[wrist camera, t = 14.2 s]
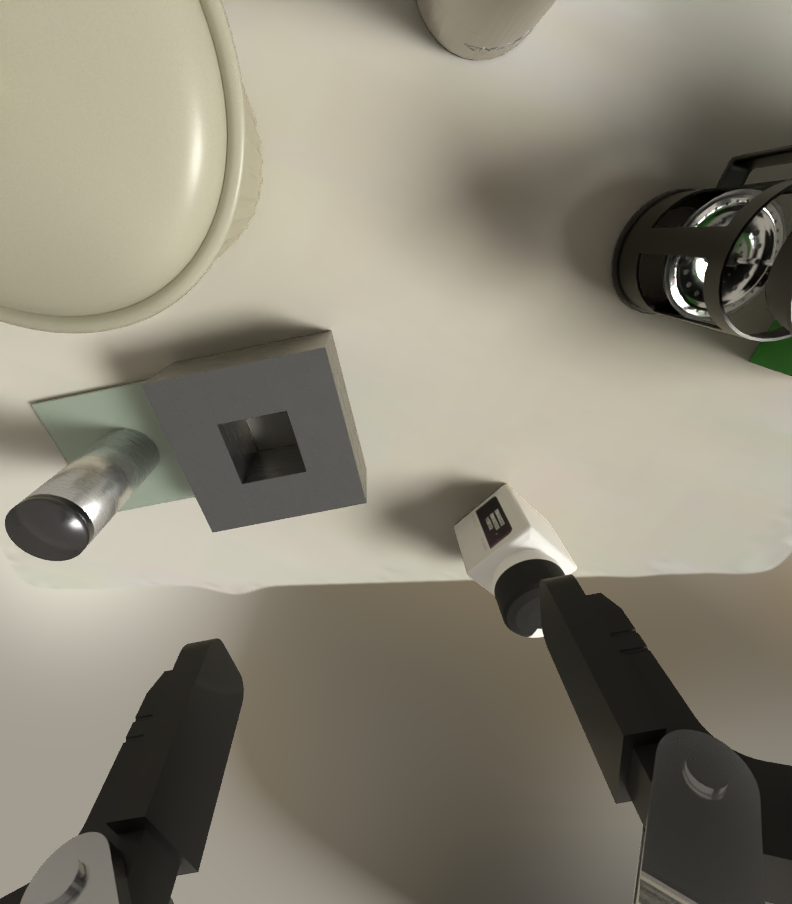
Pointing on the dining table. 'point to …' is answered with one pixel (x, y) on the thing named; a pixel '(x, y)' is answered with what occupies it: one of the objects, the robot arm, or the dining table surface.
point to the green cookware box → (775, 353)
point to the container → (512, 556)
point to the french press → (715, 250)
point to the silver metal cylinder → (82, 496)
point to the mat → (102, 412)
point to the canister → (118, 157)
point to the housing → (230, 441)
